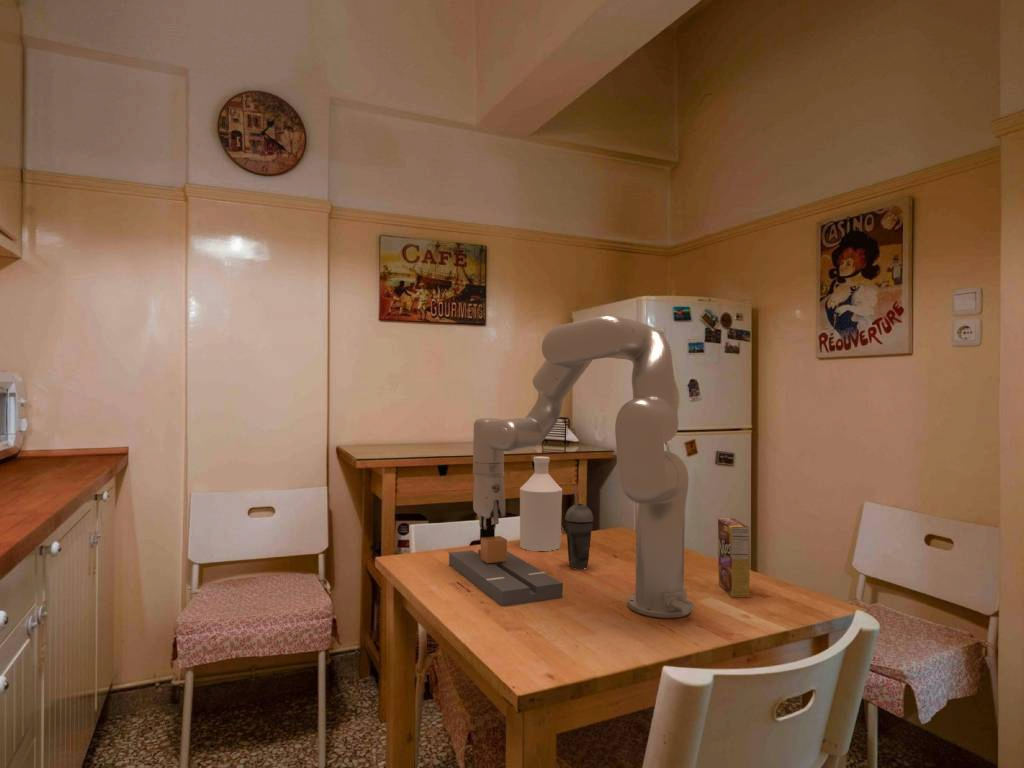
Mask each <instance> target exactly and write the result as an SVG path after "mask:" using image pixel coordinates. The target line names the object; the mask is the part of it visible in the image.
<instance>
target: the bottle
mask: <svg viewBox="0 0 1024 768" xmlns="http://www.w3.org/2000/svg"><path fill="white" fill-rule="evenodd" d="M550 459H551V458H550V457H549V456H533V464H534V465H533V467H534V468H533V469H534V473H533V474H532V475H531V476H530V478H529V479H528V480H527V481H526V482H525V483H524V484H523V485H522V486H521V487H520V488H519V547H520V548H521V547H522V548H523V549H522V548H521V549H522V550H525V549H526V550H525V551H528V550H530V551H529V552H535V551H549V552H552V551H551V550H555V551H557V550H556V549H558V548H560V549H561V545H562V544H561V542H562V541H561V539H562V508H563V507H562V505H563V488H562V487H561V486H559V484H558V483H557V482H556V481H555V480H554V478H553V477H552V476H551V475H550V474H549V463H550ZM558 550H559V549H558Z"/></svg>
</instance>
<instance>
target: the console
mask: <svg viewBox="0 0 1024 768" xmlns="http://www.w3.org/2000/svg"><path fill="white" fill-rule="evenodd" d="M448 565H449V566H450V567H451V568H452V569H454V570H456V572H458V573H459V574H461V576H463V577H465V578H466V579H467V580H468V581H469V582H470V583H472V584H473V585H475V586H476V587H477V588H478V589H480V590H481V591H482V592H483V593H484V594H486V595H487V596H488V597H489V598H491V599H492V600H493V601H495V603H497V604H498V605H499V606H501V607H507V606H506V605H508V606H514V604H515V605H521V604H520V603H522V604H527V602H528V603H535V602H540V601H541V600H542V601H548V600H554V598H555V599H561V598H560V597H562V598H563V594H564V593H563V592H564V589H563V587H564V586H563V585H564V583H563V582H562V581H560V580H558V579H556V578H554V577H553V576H551V575H550V574H547V573H546V572H545V571H542V570H540V568H537V567H535V566H534V565H532V564H531V563H529V562H527V561H525V560H523V559H522V558H520V557H518V556H516V554H513V553H512V552H510V551H508V550H507V561H502V562H498V567H497V566H496V565H494V564H493V563H486V562H485V561H483V560H482V559H481V548H480V549H479V548H478V550H477V552H476V551H474V550H472V549H471V550H462V551H453V552H452V551H451V552H449V553H448ZM547 599H548V600H547ZM534 601H535V602H534ZM512 604H513V605H512Z"/></svg>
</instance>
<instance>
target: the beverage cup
mask: <svg viewBox="0 0 1024 768" xmlns="http://www.w3.org/2000/svg"><path fill="white" fill-rule="evenodd" d="M573 491H574V502H575V503H574V504H573V505H571V506H570V507H569V508H568V509H567V511H566V513H565V517H564V525H565V530H566V540H567V541H566V542H567V554H568V555H567V556H568V563H569V565H568V567H569V566H570V567H571V568H570V567H569V568H570V569H572V568H576V569H575V570H577V569H583V570H585V569H584V568H587V567H588V566H589V560H590V559H589V558H590V551H591V550H590V548H591V538H592V530H593V527H594V522H595V521H594V515H593V512H592V510H591V509H590V508H589V507H588V506H587V505H585V504H583V503H578V493H577V486H576V485H575V486H573ZM587 569H588V568H587Z"/></svg>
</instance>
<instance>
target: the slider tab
mask: <svg viewBox="0 0 1024 768" xmlns="http://www.w3.org/2000/svg"><path fill="white" fill-rule="evenodd" d="M480 549H481V559H482V560H483V561H485V562H486V563H493V564H494V565H496V566H497V567H498V562H502V561H507V551H508V539H507V538H505V537H503V536H501V535H498V536H497V535H496V536H494V537H483V538H481V545H480Z"/></svg>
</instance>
